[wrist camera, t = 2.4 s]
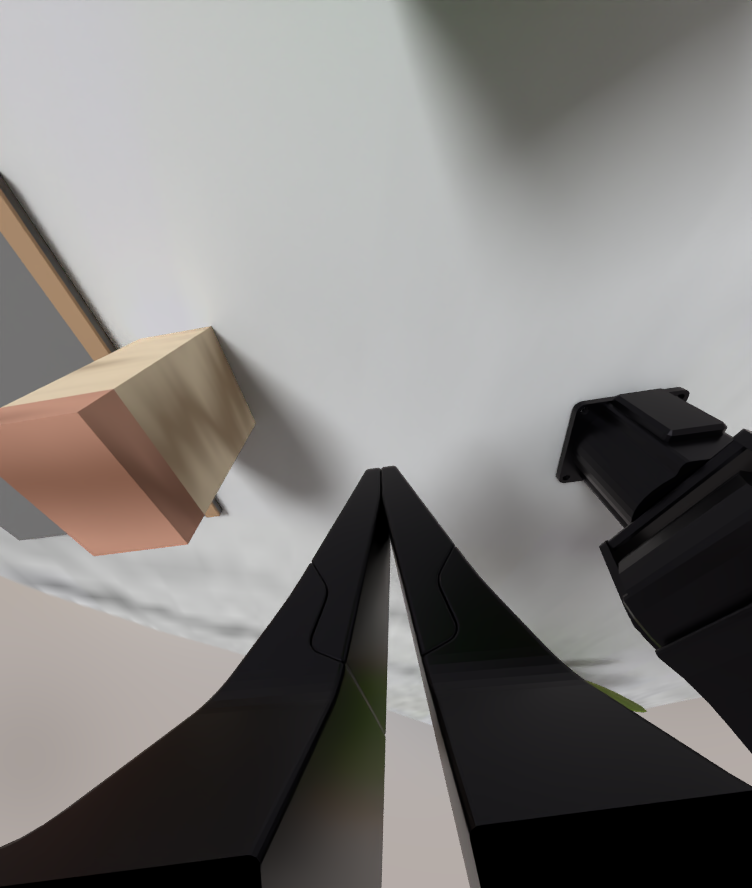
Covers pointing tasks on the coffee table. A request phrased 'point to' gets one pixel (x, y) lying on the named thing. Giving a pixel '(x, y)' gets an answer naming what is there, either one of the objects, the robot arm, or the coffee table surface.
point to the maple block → (129, 442)
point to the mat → (39, 340)
